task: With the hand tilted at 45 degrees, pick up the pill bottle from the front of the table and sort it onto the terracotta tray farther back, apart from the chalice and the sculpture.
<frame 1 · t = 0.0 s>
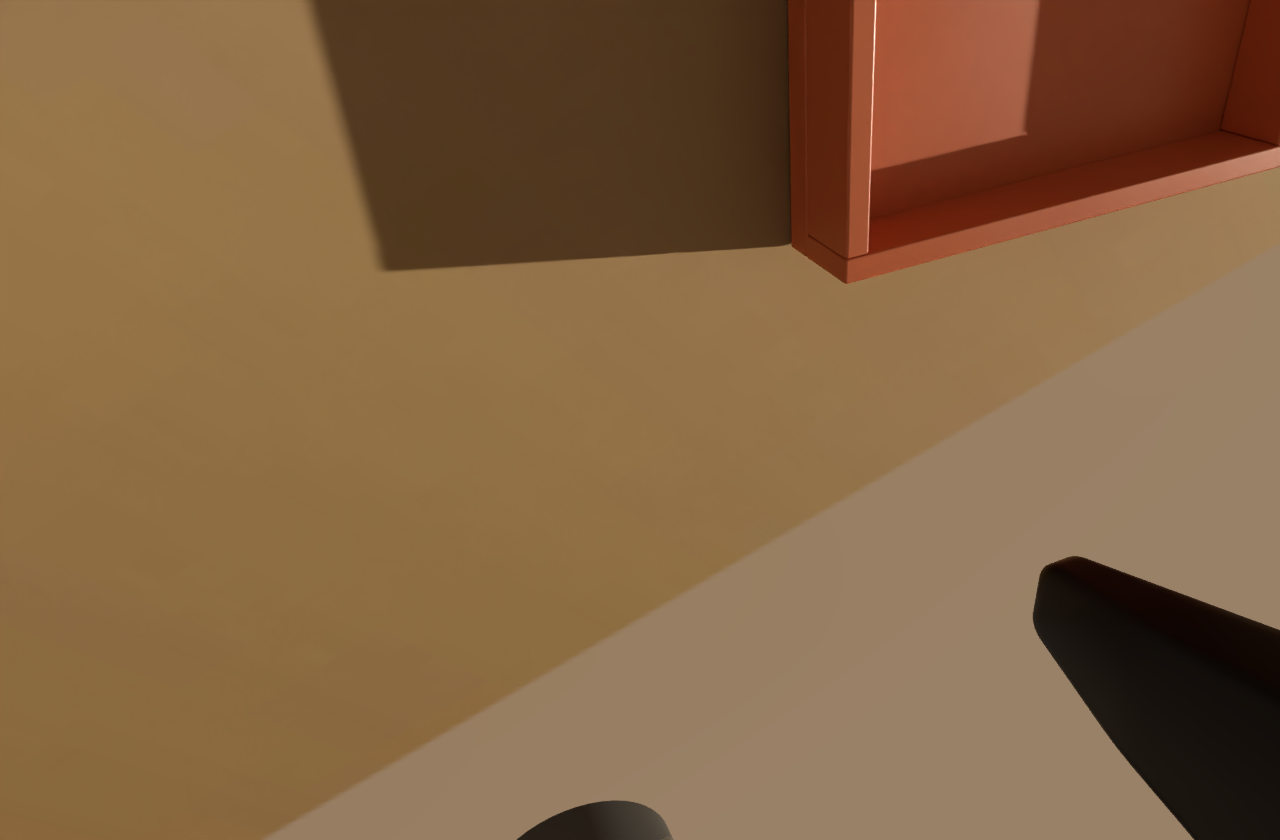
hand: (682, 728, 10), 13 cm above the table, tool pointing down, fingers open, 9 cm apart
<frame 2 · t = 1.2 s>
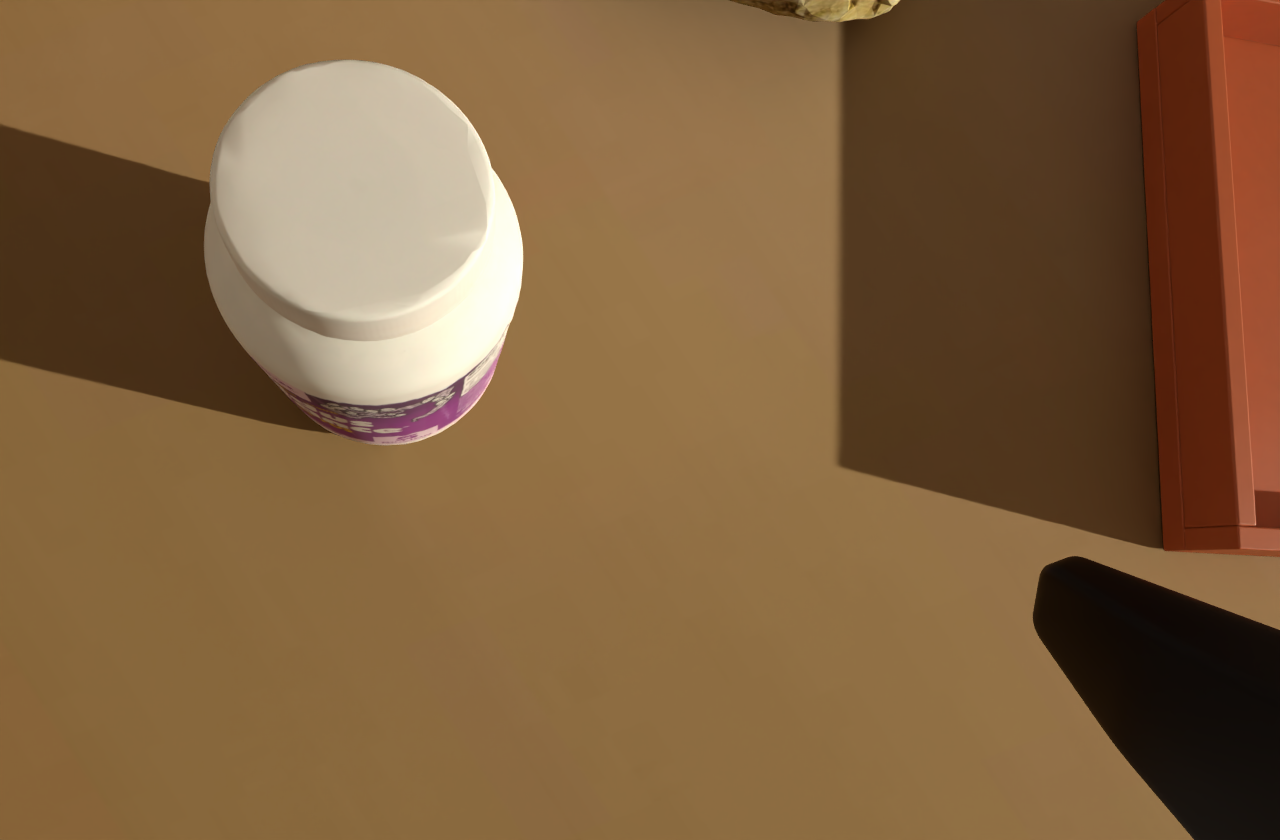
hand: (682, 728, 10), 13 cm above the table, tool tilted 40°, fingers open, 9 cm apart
pill bottle: (389, 343, 23), on the table
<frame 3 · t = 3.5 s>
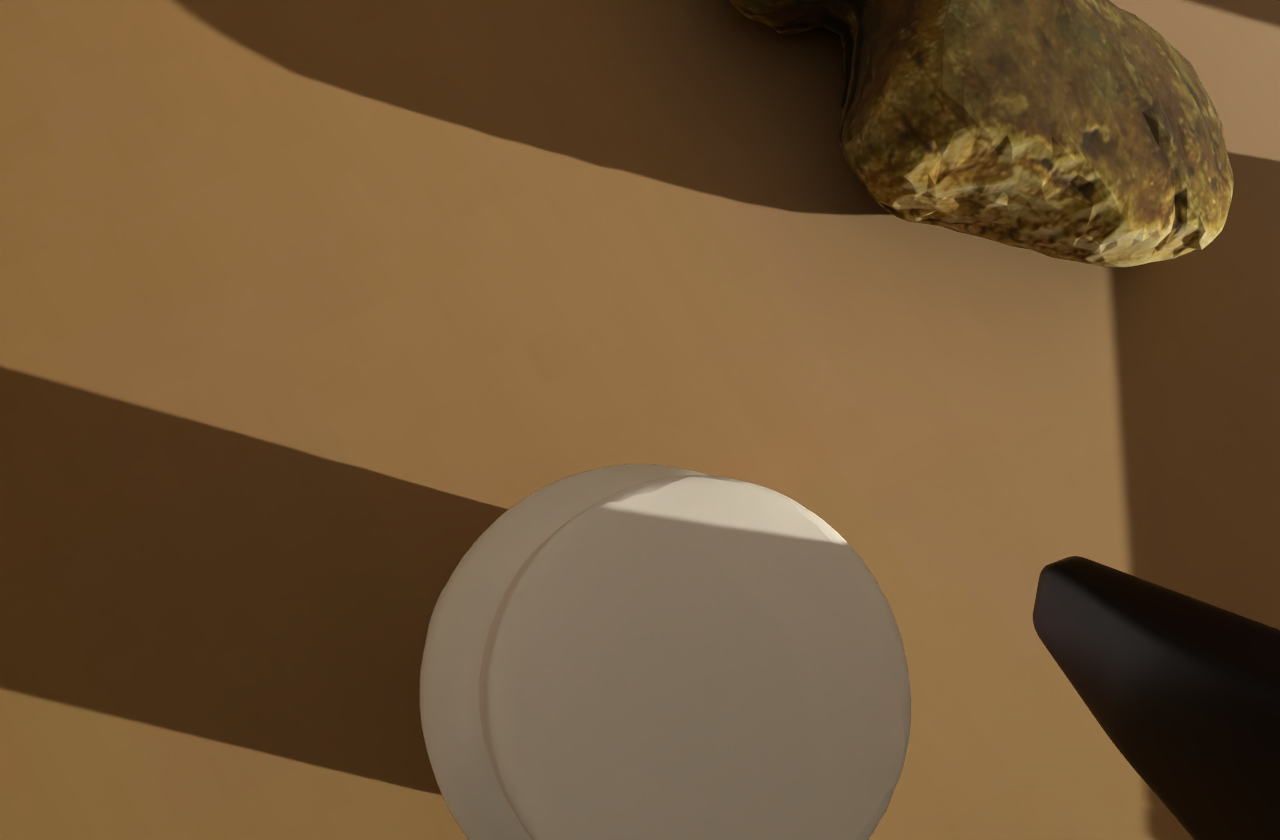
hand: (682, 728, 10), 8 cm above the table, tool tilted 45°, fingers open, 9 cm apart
sculpture: (879, 18, 23), on the table
pill bottle: (580, 675, 18), on the table
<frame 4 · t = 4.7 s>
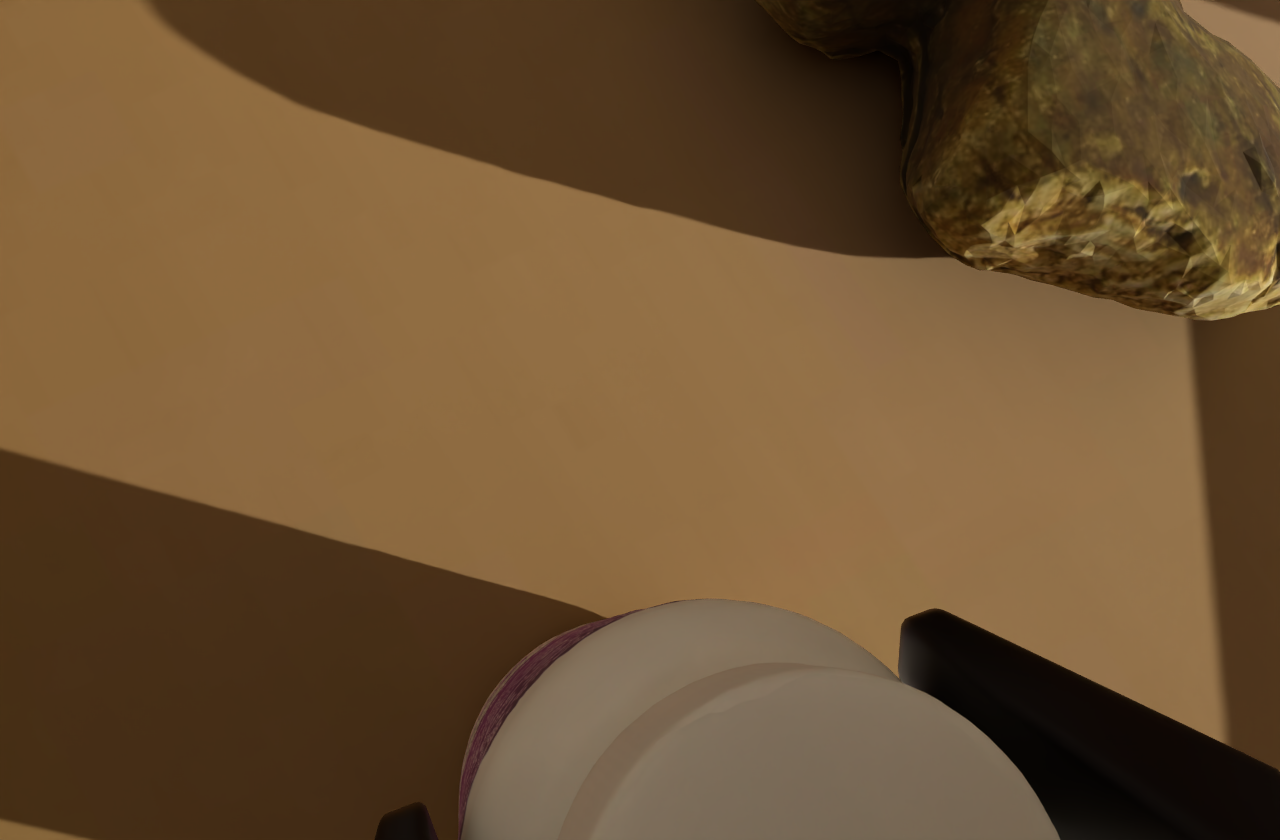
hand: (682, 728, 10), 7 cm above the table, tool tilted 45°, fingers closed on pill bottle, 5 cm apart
sculpture: (935, 40, 21), on the table
pill bottle: (620, 782, 16), on the table, touching gripper
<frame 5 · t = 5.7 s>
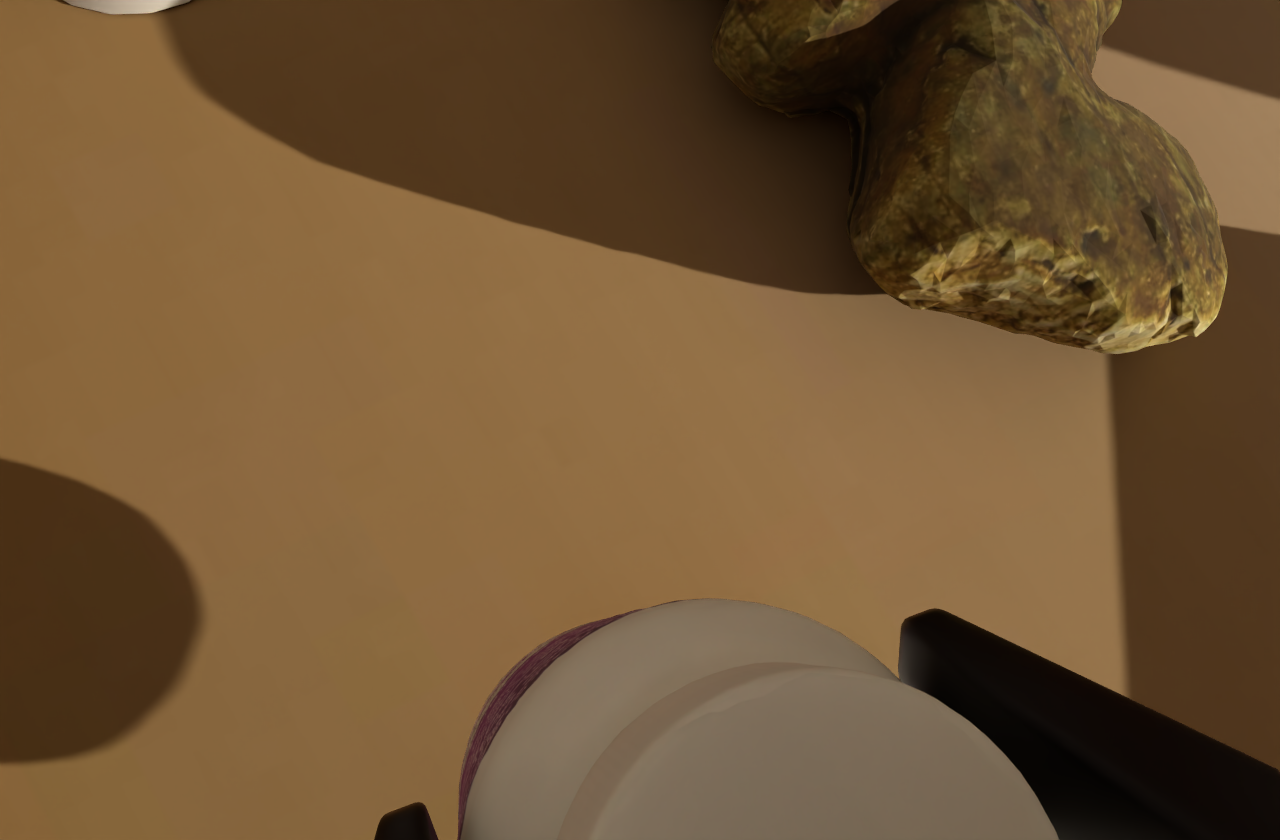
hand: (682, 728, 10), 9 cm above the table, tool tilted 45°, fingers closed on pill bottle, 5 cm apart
sculpture: (885, 95, 23), on the table
pill bottle: (619, 782, 16), point 2 cm above the table, touching gripper
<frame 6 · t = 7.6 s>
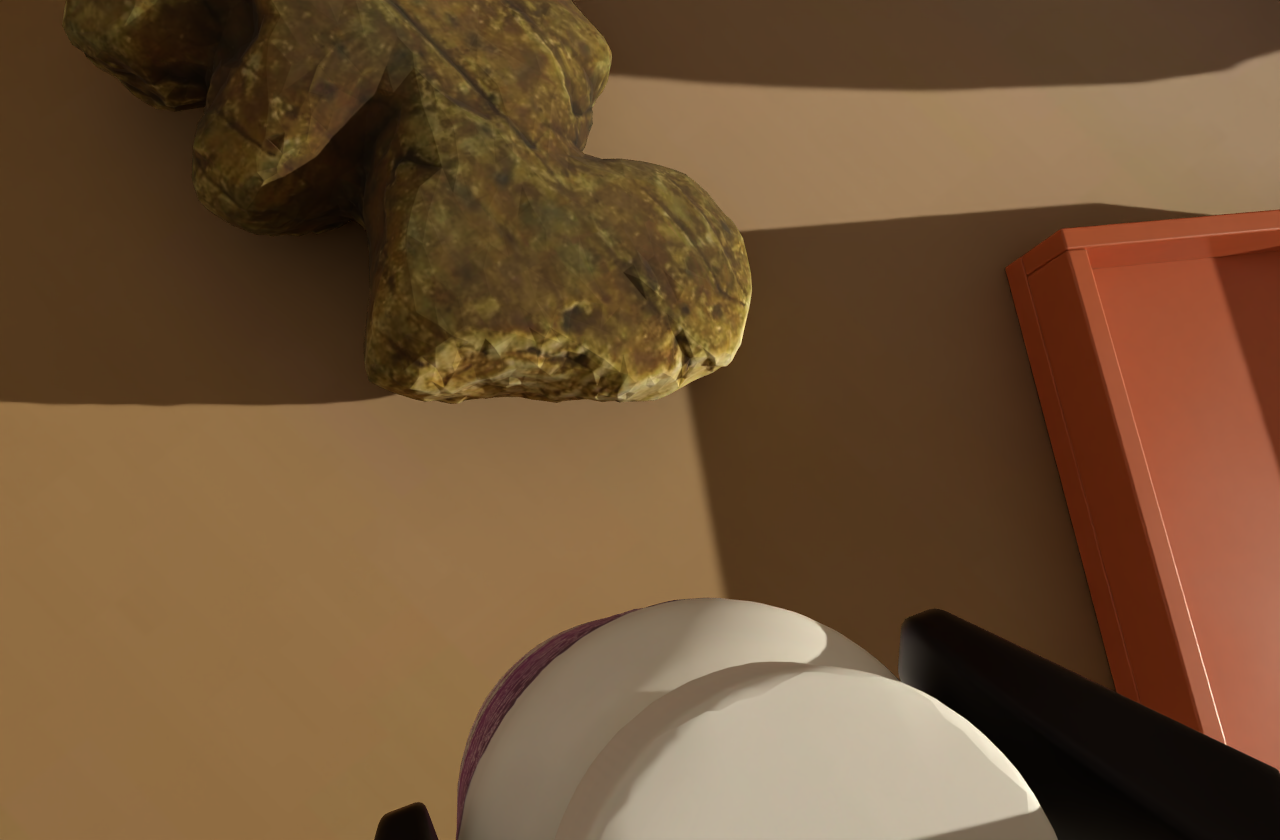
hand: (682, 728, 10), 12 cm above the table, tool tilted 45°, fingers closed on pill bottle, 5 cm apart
sculpture: (429, 180, 24), on the table
pill bottle: (618, 781, 16), point 5 cm above the table, touching gripper
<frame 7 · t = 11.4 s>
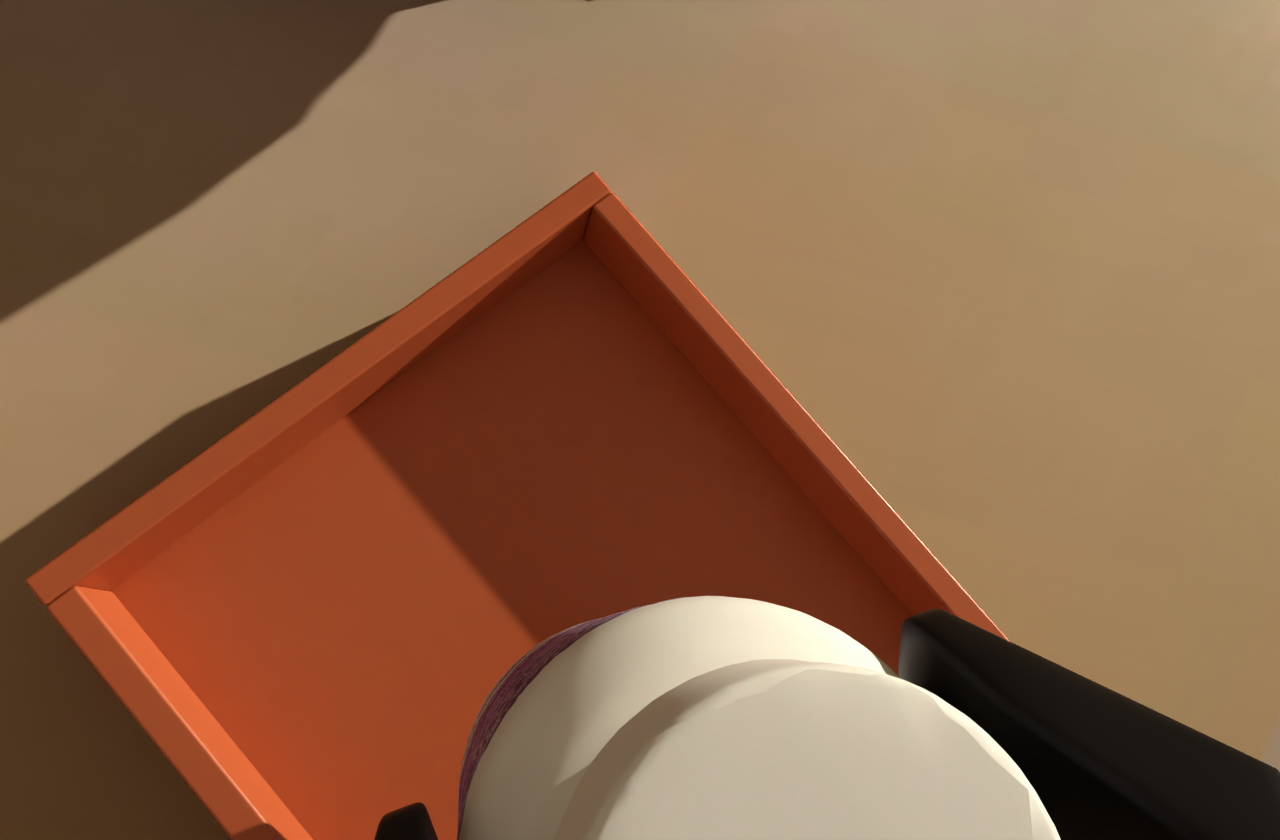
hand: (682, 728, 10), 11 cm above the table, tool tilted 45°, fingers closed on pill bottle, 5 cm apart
pill bottle: (619, 780, 16), point 4 cm above the table, touching gripper
tray: (594, 673, 20), on the table
when the fingers open (7 cm above the table, at t = 12.8 s): pill bottle stays where it is, resting on tray.
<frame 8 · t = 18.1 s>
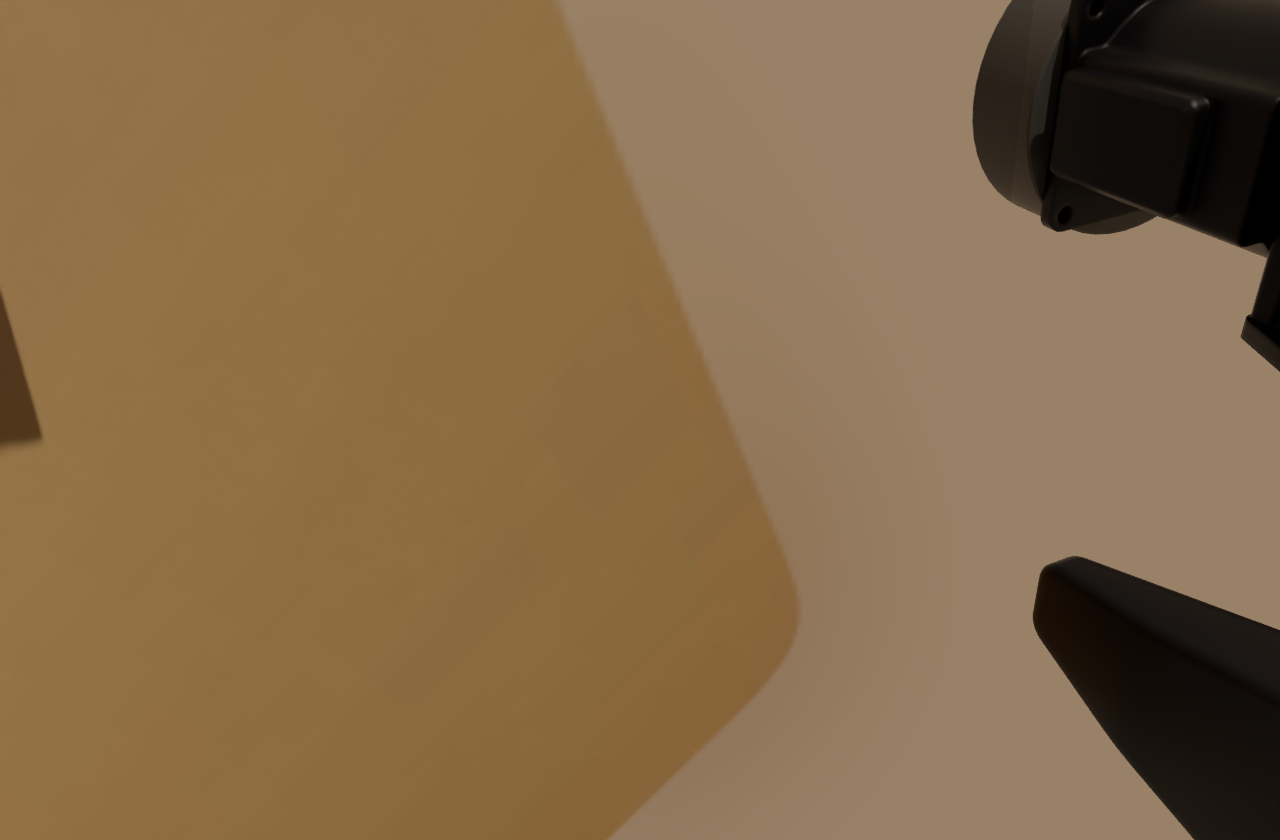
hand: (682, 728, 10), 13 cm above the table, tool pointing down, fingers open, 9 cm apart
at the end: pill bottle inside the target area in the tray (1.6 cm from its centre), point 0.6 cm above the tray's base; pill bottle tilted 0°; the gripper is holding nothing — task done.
